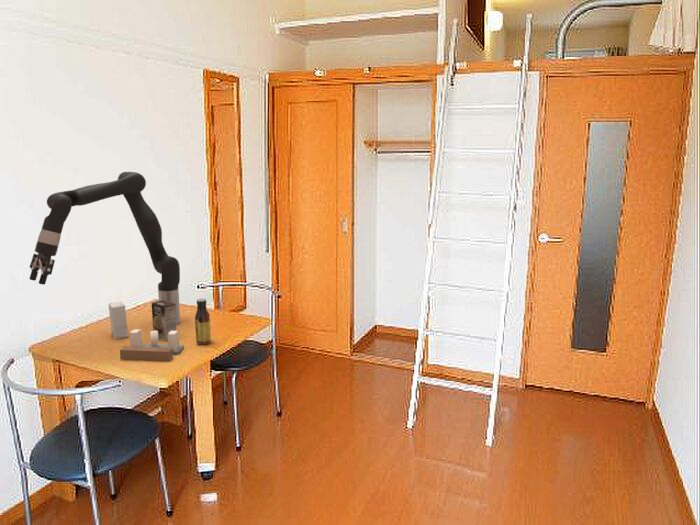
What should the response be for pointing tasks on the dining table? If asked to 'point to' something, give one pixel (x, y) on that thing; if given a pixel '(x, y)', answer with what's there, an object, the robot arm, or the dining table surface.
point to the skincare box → (118, 320)
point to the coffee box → (164, 318)
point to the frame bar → (146, 353)
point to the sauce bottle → (202, 323)
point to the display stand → (156, 340)
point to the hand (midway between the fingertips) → (37, 282)
